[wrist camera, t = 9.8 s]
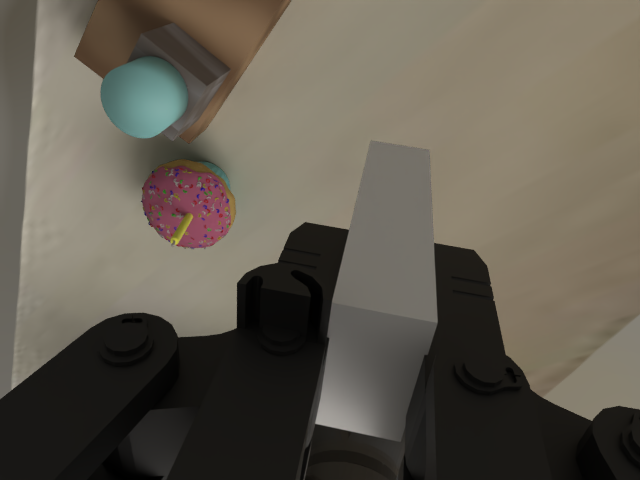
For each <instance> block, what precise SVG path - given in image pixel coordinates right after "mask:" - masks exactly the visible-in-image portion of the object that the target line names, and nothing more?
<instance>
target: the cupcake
mask: <svg viewBox="0 0 640 480" xmlns="http://www.w3.org/2000/svg"><path fill="white" fill-rule="evenodd" d="M142 190H143V195H142V201H141V202H142V203H143V210H144V211H145V215H146V216H147V219H148V221H149V222H150V224H149V225H152V226H151V227H154V228H155V230H156V231H157V232H158V234H159V235H160V236H161V237H162V236H163V237H164V238H165V239H166V240H168V241H169V242H170V243H172V247H174V245H177V246H182V247H184V248H189V247H190V249H194V248H203V247H205V248H204V249H206V247H209V246H212V245H213V244H215V243H216V242H217V241H219V240H220V239H221V238H223V237H224V236H225V235H226V234H227V233H228V230H229V229H230V227H231V226H232V224H233V221H234V219H235V215H236V209H235V198H234V196H233V194H232V193H231V191H230V184H229V180H228V178H227V176H226V175H225V173H224V172H223V171H222V170H221V169H220V168H219V167H217V166H216V165H214V164H212V163H208V162H193V161H190V160H185V159H179V160H175V161H171V162H168V163H166V164H162V165H160V166H158V167H157V168H156V169H155V170H154V171H152V173H151V175H150V176H149V177H148V179H147V180H146V182H145V184H144V187H142ZM163 237H162V238H163Z"/></svg>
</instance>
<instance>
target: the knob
mask: <svg viewBox="0 0 640 480" xmlns="http://www.w3.org/2000/svg"><path fill="white" fill-rule="evenodd" d="M187 88H188V87H186V84H185V82H184V79H183V78H182V76H181V74H180V73H179V72H178V71H177V69H176V68H175V67H173V66H172V65H171V64H170V63H168V62H167V61H165V60H163V59H161V58H158V57H153V56H145V57H141V58H138V59H136V60H133V61H131V62H129V63H126V64H124V65H122V66H119V67H117V68H115V69H113V70H111V71H110V72H109V73H108V74H107V75H106V76H105V78H104V80H103V82H102V85H101V101H102V104H103V107H104V110H105V112H106V114H107V116H108V117H109V119H110V120H111V121H112V122H113V124H114V125H115V126H116V127H118V128H119V129H120V130H121V131H123V132H124V133H126V134H128V135H131V136H133V137H137V138H151V137H154V136H156V135H158V134H159V133H161V132H162V131H163V130H165V129H166V128H167V127H169V126H170V125H171V124H173V123H174V122H175V121H177V120H178V119H179V118H180V117H181V116H182V115H183V114H184V112H185V111H186V108H187V105H188V91H187Z"/></svg>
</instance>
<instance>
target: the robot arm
mask: <svg viewBox="0 0 640 480" xmlns="http://www.w3.org/2000/svg"><path fill="white" fill-rule="evenodd" d="M490 284H491V282H490V277H489V272H488V268H487V265H486V264H485V263H484V262H483V261H482V259H481V258H480V257H479V256H478V254H477V253H476V252H475V251H474V250H471V249H465V248H459V247H454V246H448V245H442V244H436V243H434V235H433V214H432V193H431V173H430V152H429V150H428V149H421V148H415V147H409V146H402V145H396V144H390V143H383V142H377V141H371V142H370V146H369V150H368V154H367V158H366V162H365V167H364V171H363V175H362V179H361V183H360V187H359V191H358V196H357V200H356V204H355V208H354V212H353V216H352V221H351V225H350V229H349V230H347V229H341V228H335V227H330V226H324V225H318V224H313V223H307V222H305V223H303V224H302V225H301V226H299V227H298V228H297V229H295V230H294V231H292V232H291V233H290V235H289V237H288V239H287V242H286V244H285V246H284V250H283V251H282V253H281V255H280V257H279V260H278V263H275V264H269V265H264V266H259V267H257V268H255V269H253V270H251V271H249V272H247V273H246V274H245V275H244V276H243V277H242V278H241V279H240V280H239V282H238V283H237V328H236V329H234V330H232V331H228V332H225V333H222V334H217V335H210V336H197V337H178V336H177V334H176V332H175V330H174V328H173V326H172V324H170V323H169V322H167V321H166V320H164V319H163V318H161V317H159V316H155V315H151V314H146V313H127V314H122V315H118V316H115V317H111V318H108V319H105V320H104V321H102V322H100V323H99V324H97V325H95V326H93V327H92V328H90V329H89V330H88V331H86V332H85V333H84V334H82V335H81V336H80V337H79V338H77V339H76V340H75V341H74V342H72V343H71V344H70V345H69V346H67V347H66V348H65V349H63V350H62V351H61V352H60V353H58V354H57V355H56V356H55V357H53V358H52V359H51V360H50V361H48V362H47V363H46V364H44V365H43V366H42V367H41V368H39V369H38V370H37V371H36V372H34V373H33V374H32V375H31V376H29V377H28V378H27V379H25V380H24V381H23V382H22V383H20V384H19V385H18V386H17V387H15V388H14V389H13V390H12V391H10V392H9V393H8V394H6V395H5V396H4V397H3V398H1V399H0V480H640V410H639V409H633V408H627V407H621V406H616V407H611V408H606V409H603V410H602V411H601V412H600V413H599V414H598V415H597V416H596V417H595V418H594V419H593V421H591V420H588V419H586V418H584V417H581V416H579V415H577V414H575V413H573V412H571V411H568V410H566V409H564V408H562V407H559V406H557V405H555V404H553V403H551V402H549V401H548V400H546V399H544V398H542V397H540V396H539V395H537V394H536V393H535V392H533V391H532V390H531V389H530V385H529V383H528V381H527V379H526V377H525V375H524V373H523V371H522V370H521V369H520V368H519V367H518V365H517V364H516V363H515V362H514V361H513V360H512V359H511V358H510V357H508V356H506V354H505V350H504V345H503V340H502V335H501V330H500V325H499V321H498V316H497V311H496V306H495V301H493V298H494V296H493V292H492V287H491V286H490Z"/></svg>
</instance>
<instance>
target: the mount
mask: <svg viewBox="0 0 640 480" xmlns="http://www.w3.org/2000/svg"><path fill="white" fill-rule="evenodd" d="M290 2H291V0H98V1H97V4H96V6H95V8H94V11H93V13H92V15H91V18H90V20H89V22H88V25H87V27H86V29H85V32H84V34H83V36H82V39H81V41H80V43H79V46H78V48H77V50H76V53H75V55H74V57H75V58H77V59H78V60H79V61H81V62H82V63H83V64H85V65H86V66H87V67H89V68H90V69H91V70H93V71H94V72H95V73H96V74H98V75H99V76H100V77H102V78H103V79H104V78H105V76H106V75H107V74H108V73H109V72H110V71H111V70H113V69H115V68H117V67H119V66H122V65H124V64H126V63H129V62H131V61H133V60H136V59H138V58H141V57H145V56H153V57H158V58H161V59H163V60H165V61H167V62H168V63H170V64H171V65H172V66H173V67H175V68H176V69H177V71H178V72H179V73H180V74H181V76H182V78H183V79H184V82H185V84H186V87H188V88H187V91H188V105H187V108H186V111H185V112H184V114H183V115H182V116H181V117H180V118H179V119H178V120H177V121H175V122H174V123H173V124H171V125H170V126H169V127H167V128H166V129H165V130H163V131H162V132H161V133H162V134H164V135H165V136H166V137H168V138H169V139H170V140H172V141H173V140H175V139H176V138H177V137H178V136H179V137H181V138H182V139H183V140H185V141H186V142H187V143H188V144H190V143H191V142H192V141H193V140H194V139H195V138H196V137H197V136H199V135H200V134H201V133H202V132H203V131H204V130H205V129H206V128H207V127H208V125H209V124H210V122H211V121H212V119H213V118H214V116H215V115H216V113H217V112H218V110H219V109H220V107H221V106H222V104H223V103H224V101H225V100H226V98H227V97H228V95H229V94H230V92H231V91H232V89H233V88H234V86H235V85H236V83H237V82H238V80H239V79H240V77H241V76H242V74H243V73H244V71H245V70H246V68H247V67H248V65H249V64H250V62H251V61H252V59H253V58H254V56H255V55H256V53H257V52H258V50H259V49H260V47H261V46H262V44H263V43H264V41H265V40H266V38H267V37H268V35H269V34H270V32H271V31H272V29H273V28H274V26H275V25H276V23H277V22H278V20H279V19H280V17H281V15H282V14H283V12H284V11H285V9H286V8H287V6H288V5H289V3H290Z"/></svg>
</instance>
